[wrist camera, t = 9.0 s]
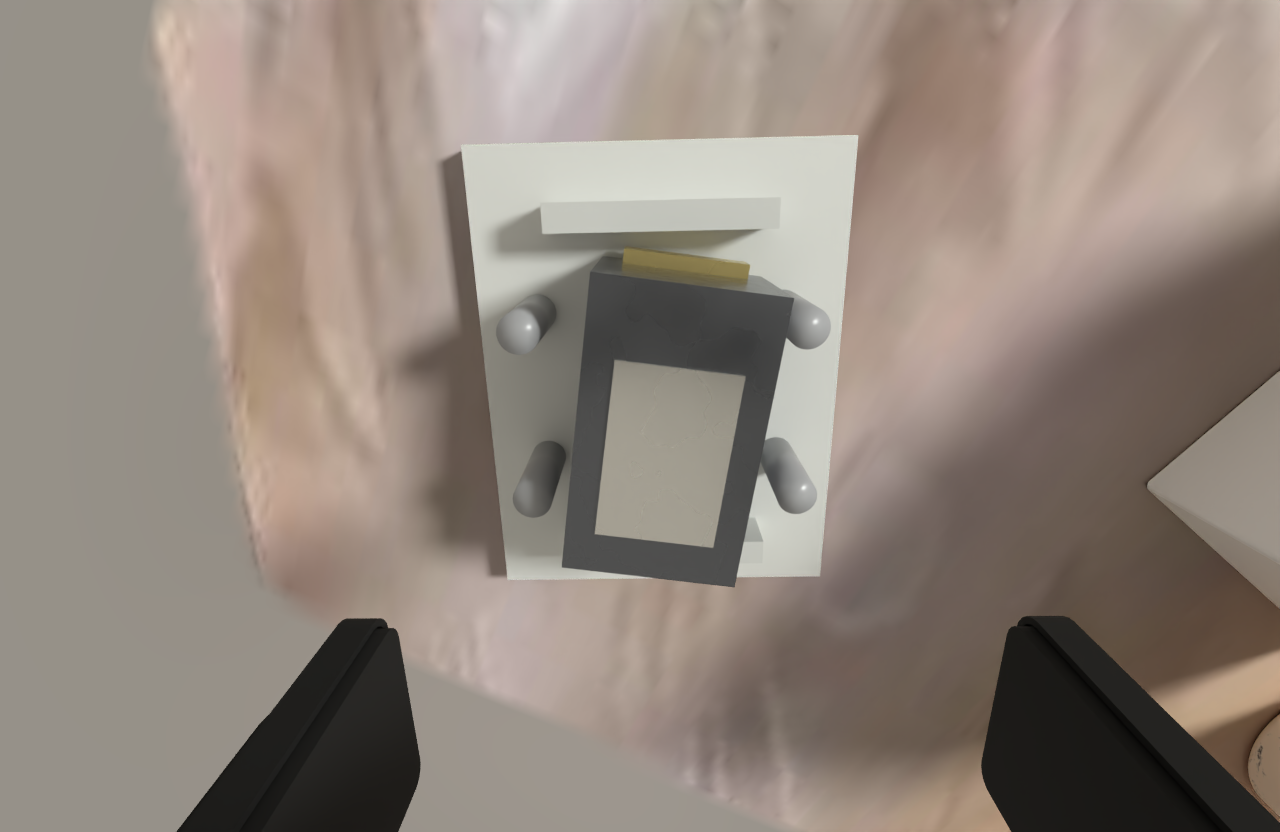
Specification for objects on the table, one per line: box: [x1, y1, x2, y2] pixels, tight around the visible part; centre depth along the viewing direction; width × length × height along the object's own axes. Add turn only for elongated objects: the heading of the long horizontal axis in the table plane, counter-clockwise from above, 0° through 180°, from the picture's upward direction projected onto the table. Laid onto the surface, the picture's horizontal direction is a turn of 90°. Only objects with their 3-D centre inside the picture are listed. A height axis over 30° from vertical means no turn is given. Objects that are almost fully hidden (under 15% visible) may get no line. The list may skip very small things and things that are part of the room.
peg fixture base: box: [461, 135, 858, 580], centre depth 23 cm, size 18×14×5 cm
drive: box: [562, 246, 794, 587], centre depth 22 cm, size 10×6×6 cm, turn 173°
